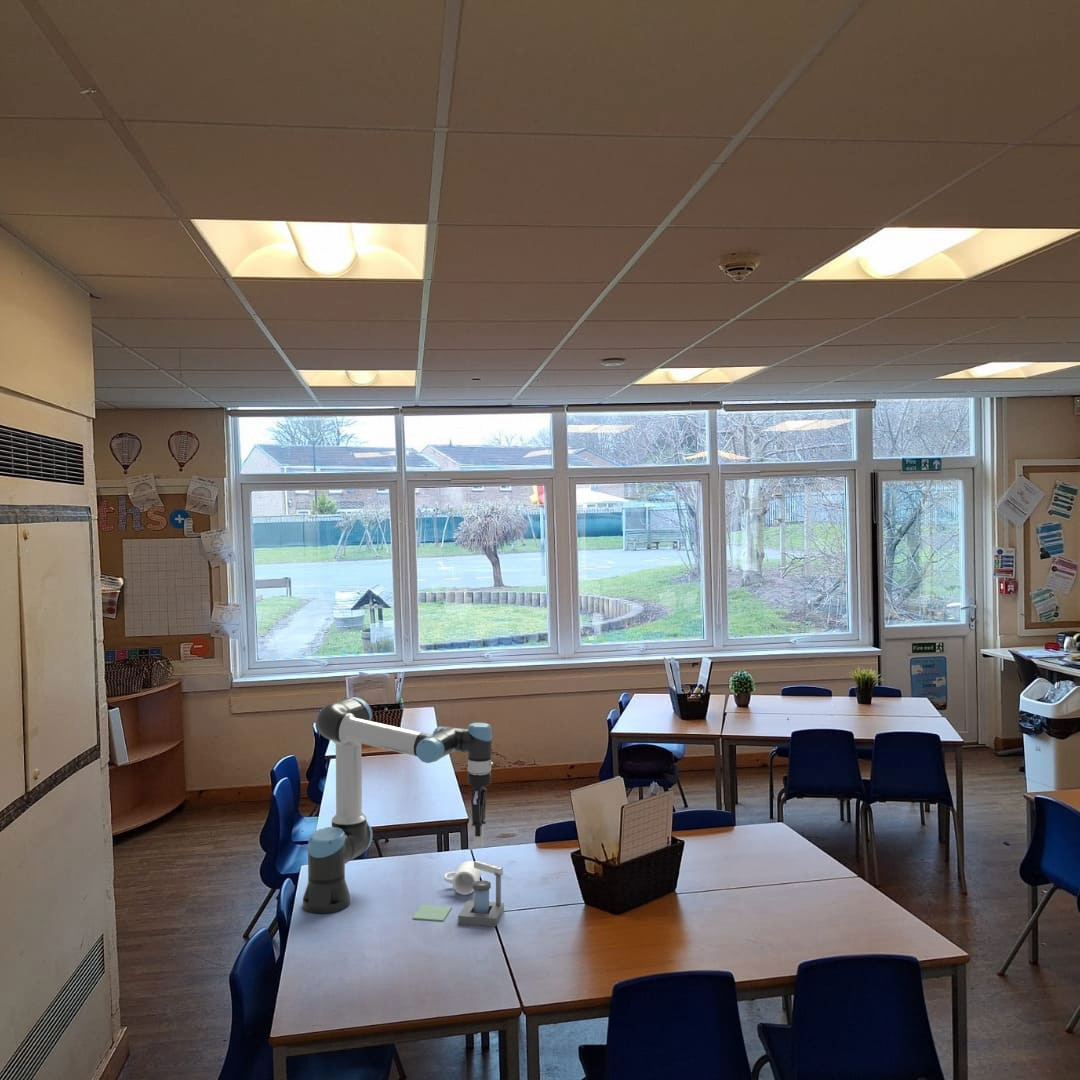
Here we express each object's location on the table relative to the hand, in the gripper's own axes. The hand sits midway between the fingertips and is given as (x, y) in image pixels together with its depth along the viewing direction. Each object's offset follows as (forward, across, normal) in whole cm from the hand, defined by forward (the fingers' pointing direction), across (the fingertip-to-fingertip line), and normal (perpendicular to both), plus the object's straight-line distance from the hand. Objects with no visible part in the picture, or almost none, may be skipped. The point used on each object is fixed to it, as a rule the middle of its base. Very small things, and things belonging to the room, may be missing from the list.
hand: (478, 845), depth 293 cm
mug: (+21, +16, +9) cm, 28 cm away
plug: (+21, -6, -2) cm, 22 cm away
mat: (+21, -6, +14) cm, 26 cm away
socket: (+21, -6, -2) cm, 22 cm away
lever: (+9, +1, -3) cm, 9 cm away
